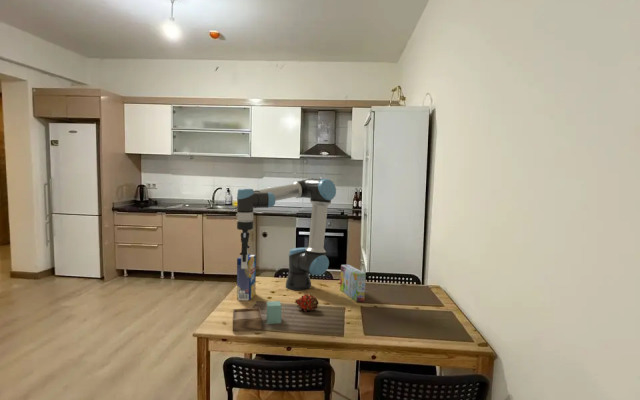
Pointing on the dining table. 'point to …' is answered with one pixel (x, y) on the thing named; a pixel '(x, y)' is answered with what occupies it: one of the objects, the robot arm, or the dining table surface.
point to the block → (273, 312)
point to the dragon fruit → (307, 302)
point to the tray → (247, 319)
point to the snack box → (353, 282)
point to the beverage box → (246, 279)
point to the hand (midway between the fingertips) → (244, 264)
